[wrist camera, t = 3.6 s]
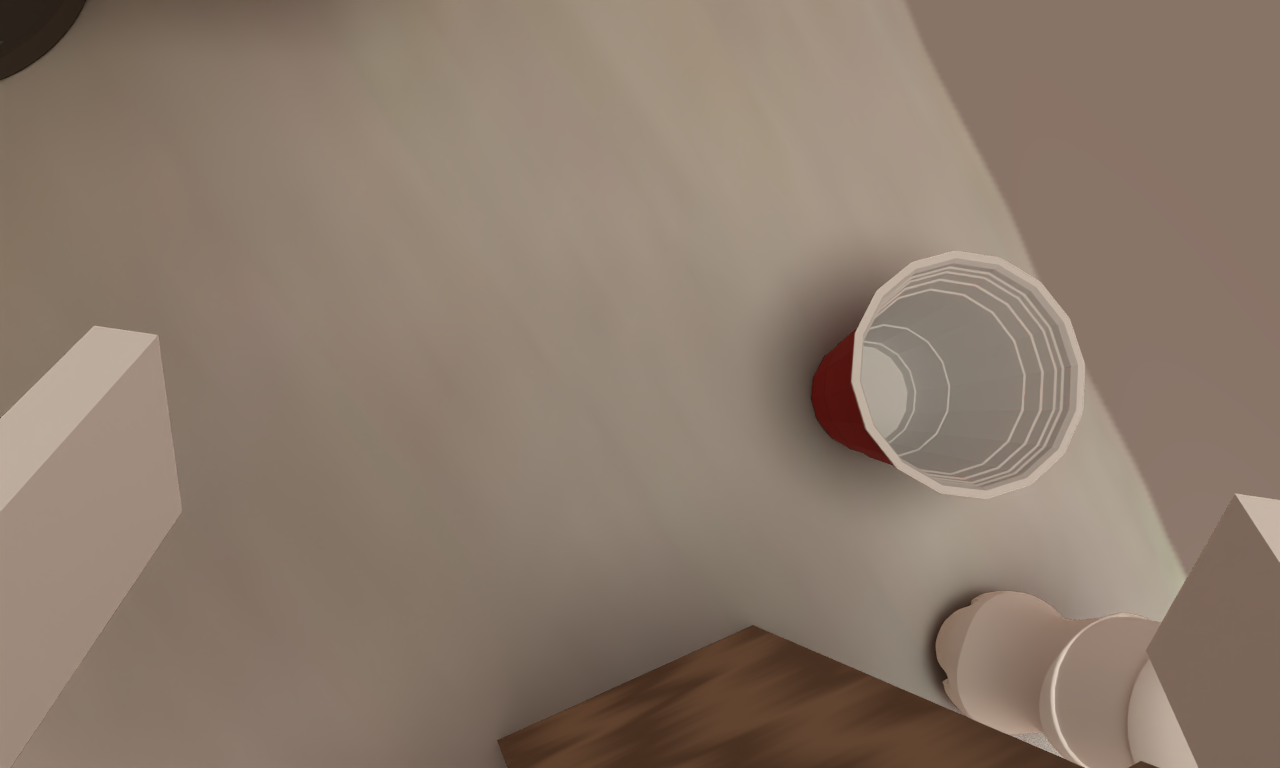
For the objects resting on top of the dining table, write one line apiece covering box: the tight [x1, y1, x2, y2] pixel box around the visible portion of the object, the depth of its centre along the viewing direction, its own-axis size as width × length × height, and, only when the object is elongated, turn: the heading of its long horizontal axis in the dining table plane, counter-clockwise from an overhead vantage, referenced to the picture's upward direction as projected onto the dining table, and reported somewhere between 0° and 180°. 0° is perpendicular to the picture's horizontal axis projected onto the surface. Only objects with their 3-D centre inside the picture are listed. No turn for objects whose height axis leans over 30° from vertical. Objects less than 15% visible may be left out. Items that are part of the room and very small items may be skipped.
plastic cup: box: [811, 250, 1085, 499], centre depth 51 cm, size 11×11×12 cm
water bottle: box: [936, 591, 1198, 768], centre depth 45 cm, size 7×7×25 cm
